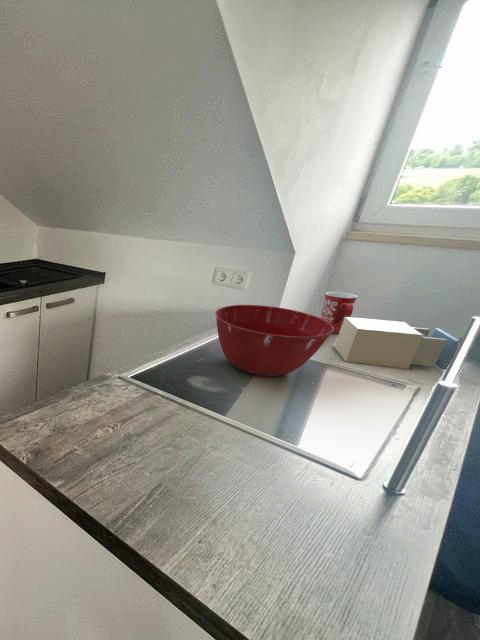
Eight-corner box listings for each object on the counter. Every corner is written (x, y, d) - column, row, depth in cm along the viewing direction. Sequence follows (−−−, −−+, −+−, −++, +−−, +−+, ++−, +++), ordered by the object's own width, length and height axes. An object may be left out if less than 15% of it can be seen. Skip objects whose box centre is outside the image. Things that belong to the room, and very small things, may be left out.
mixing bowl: (341, 378, 109) (360, 326, 103) (267, 397, 100) (283, 341, 94) (250, 344, 133) (262, 300, 127) (185, 357, 125) (193, 311, 118)
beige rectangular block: (390, 353, 124) (404, 321, 119) (408, 368, 113) (423, 335, 109) (334, 347, 130) (344, 316, 125) (345, 361, 119) (357, 328, 115)
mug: (310, 325, 150) (321, 291, 144) (338, 327, 147) (350, 292, 142) (324, 336, 139) (336, 299, 133) (354, 338, 136) (368, 301, 131)
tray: (447, 357, 118) (461, 330, 114) (469, 372, 108) (484, 343, 105) (371, 349, 125) (381, 323, 121) (385, 362, 116) (396, 334, 112)
